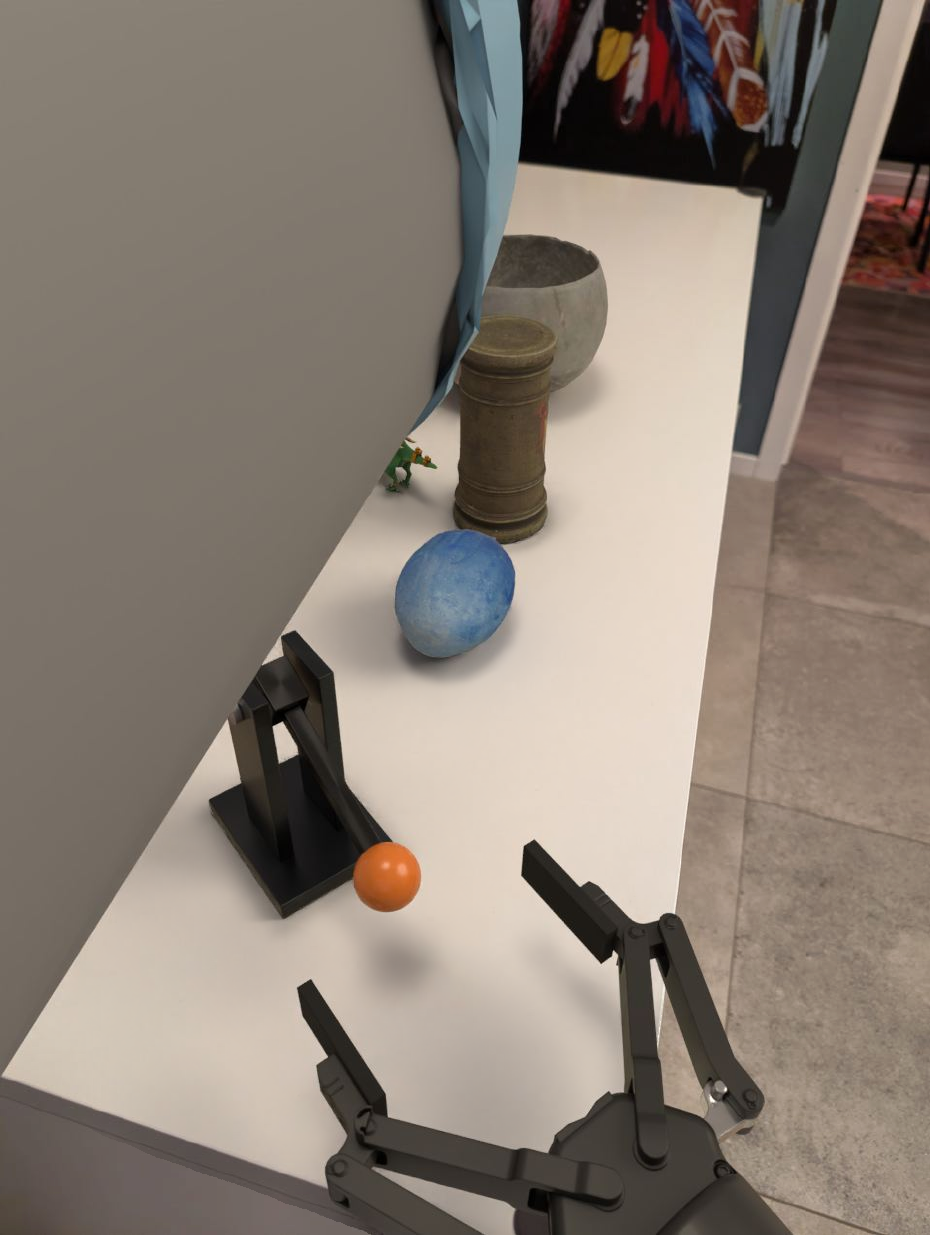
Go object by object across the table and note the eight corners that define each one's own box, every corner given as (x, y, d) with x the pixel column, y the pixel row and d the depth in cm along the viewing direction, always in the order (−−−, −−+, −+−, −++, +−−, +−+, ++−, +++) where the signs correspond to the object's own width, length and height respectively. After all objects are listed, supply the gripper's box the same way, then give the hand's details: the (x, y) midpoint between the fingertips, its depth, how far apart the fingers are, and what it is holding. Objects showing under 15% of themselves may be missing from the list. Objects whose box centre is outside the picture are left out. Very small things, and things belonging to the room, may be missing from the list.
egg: (523, 476, 77) (449, 589, 66) (559, 564, 81) (494, 682, 71) (433, 492, 81) (351, 599, 71) (472, 573, 86) (399, 686, 76)
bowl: (635, 401, 108) (654, 268, 98) (482, 449, 100) (486, 309, 90) (530, 334, 121) (537, 211, 111) (387, 371, 113) (382, 242, 103)
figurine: (371, 456, 98) (367, 382, 93) (449, 505, 92) (449, 429, 86) (347, 466, 97) (341, 392, 91) (424, 517, 90) (423, 441, 85)
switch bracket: (394, 854, 61) (384, 689, 52) (283, 919, 58) (250, 755, 48) (316, 757, 67) (294, 594, 58) (210, 811, 64) (169, 646, 54)
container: (490, 555, 86) (497, 368, 74) (433, 509, 91) (431, 328, 79) (567, 522, 90) (585, 340, 78) (508, 479, 95) (516, 303, 83)
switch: (425, 896, 53) (441, 881, 50) (369, 931, 51) (382, 917, 48) (291, 671, 57) (298, 644, 54) (235, 696, 55) (239, 670, 52)
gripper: (967, 1088, 39) (612, 765, 52) (481, 1604, 28) (180, 1027, 41) (909, 1160, 44) (598, 848, 57) (476, 1624, 33) (208, 1103, 46)
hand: (423, 922), depth 49 cm, fingers open, 13 cm apart
